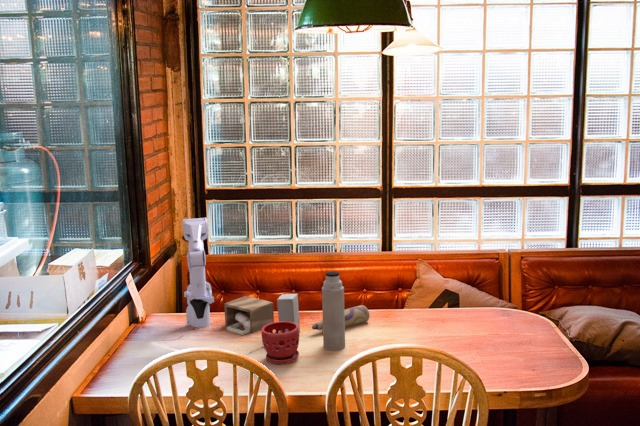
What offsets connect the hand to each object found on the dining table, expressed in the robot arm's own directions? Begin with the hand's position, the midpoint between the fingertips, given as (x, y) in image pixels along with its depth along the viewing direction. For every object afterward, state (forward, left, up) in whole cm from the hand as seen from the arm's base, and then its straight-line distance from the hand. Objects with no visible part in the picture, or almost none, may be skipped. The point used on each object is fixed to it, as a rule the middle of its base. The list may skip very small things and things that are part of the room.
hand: (200, 318), depth 245 cm
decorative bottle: (+32, +44, -10) cm, 55 cm away
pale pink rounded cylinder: (+6, +23, -7) cm, 25 cm away
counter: (+2, +23, -10) cm, 25 cm away
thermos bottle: (+43, +26, -10) cm, 51 cm away
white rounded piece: (+4, +20, -7) cm, 22 cm away
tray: (+4, +20, -11) cm, 23 cm away
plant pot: (+35, +6, -10) cm, 37 cm away
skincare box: (+22, +25, -10) cm, 35 cm away
